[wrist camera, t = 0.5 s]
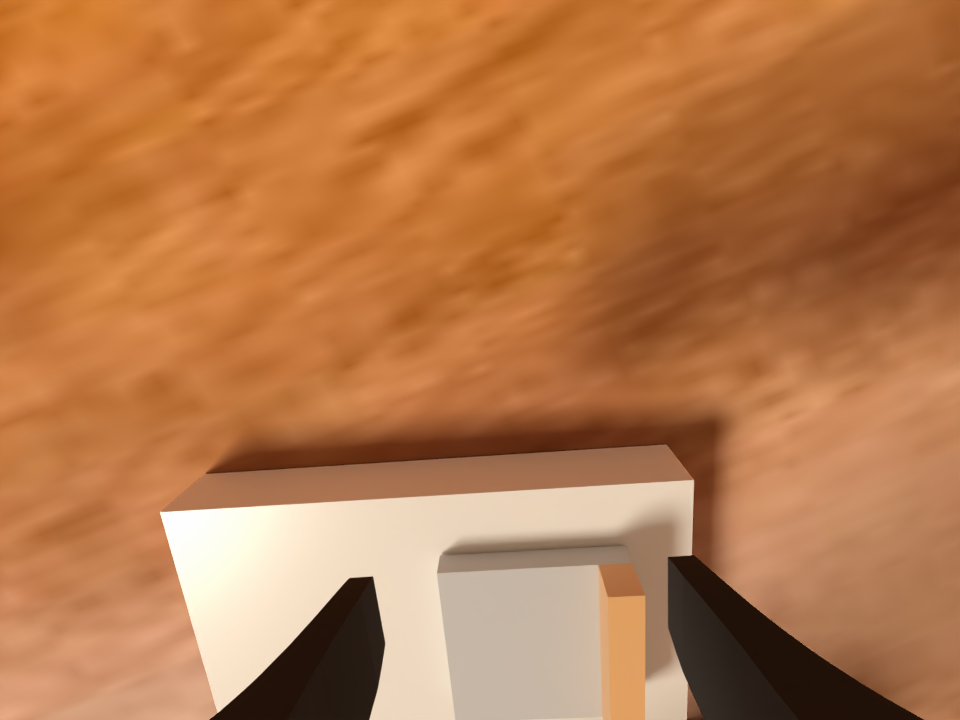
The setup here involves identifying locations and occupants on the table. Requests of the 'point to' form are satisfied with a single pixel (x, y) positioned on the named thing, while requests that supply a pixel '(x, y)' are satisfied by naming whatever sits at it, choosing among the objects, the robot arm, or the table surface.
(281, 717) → the robot arm
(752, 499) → the table surface
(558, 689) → the shutter
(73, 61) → the table surface
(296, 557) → the socket plate
